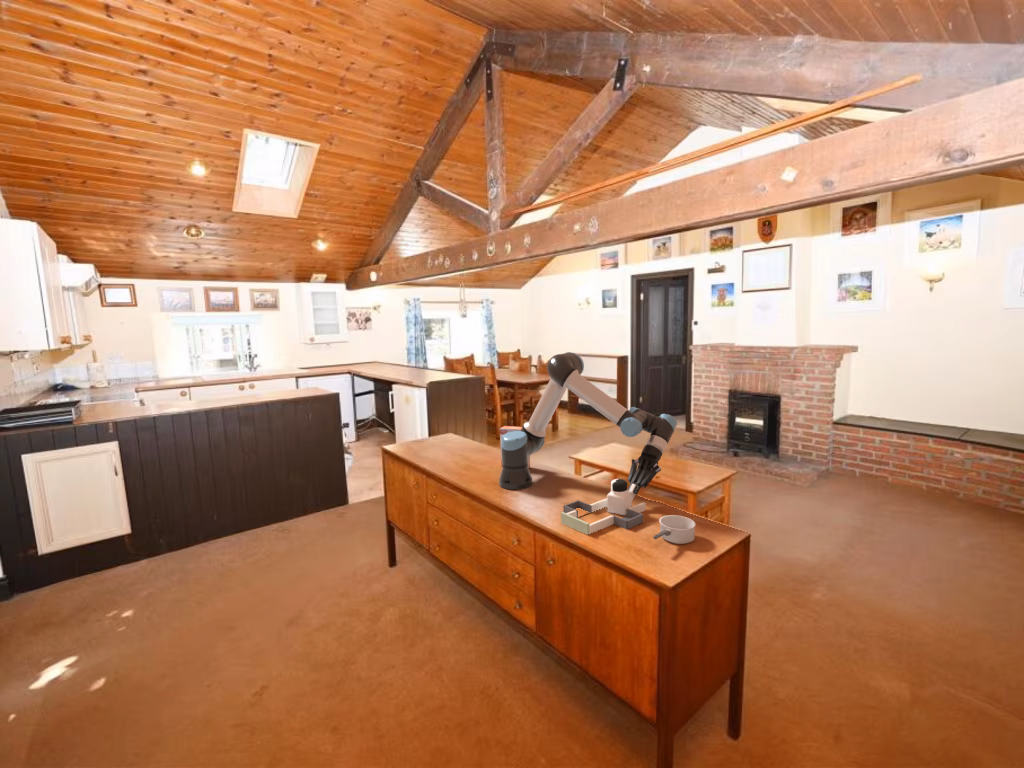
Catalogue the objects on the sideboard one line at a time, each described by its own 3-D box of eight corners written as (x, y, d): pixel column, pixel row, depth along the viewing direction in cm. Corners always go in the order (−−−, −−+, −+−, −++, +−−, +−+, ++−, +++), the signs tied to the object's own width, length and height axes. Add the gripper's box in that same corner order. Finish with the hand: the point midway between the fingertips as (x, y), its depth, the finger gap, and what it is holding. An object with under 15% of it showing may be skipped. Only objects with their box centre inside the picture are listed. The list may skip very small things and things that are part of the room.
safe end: (563, 522, 167) (562, 511, 167) (589, 534, 157) (589, 523, 156) (561, 523, 167) (560, 512, 166) (587, 535, 156) (587, 524, 156)
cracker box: (530, 467, 235) (529, 427, 232) (525, 470, 229) (524, 429, 227) (506, 464, 241) (504, 425, 239) (500, 467, 236) (499, 427, 233)
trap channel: (607, 496, 190) (607, 489, 190) (659, 514, 171) (659, 507, 170) (551, 517, 172) (551, 509, 172) (602, 540, 152) (602, 531, 152)
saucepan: (638, 547, 147) (638, 531, 146) (669, 527, 160) (669, 512, 159) (672, 560, 138) (672, 542, 138) (702, 537, 152) (702, 521, 151)
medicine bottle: (632, 508, 176) (631, 478, 175) (625, 516, 171) (624, 485, 169) (614, 505, 180) (613, 476, 179) (607, 512, 175) (606, 482, 173)
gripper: (672, 457, 181) (646, 509, 173) (644, 451, 191) (619, 500, 184) (664, 447, 177) (637, 500, 169) (636, 441, 188) (610, 490, 180)
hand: (628, 500), depth 177 cm, fingers closed
